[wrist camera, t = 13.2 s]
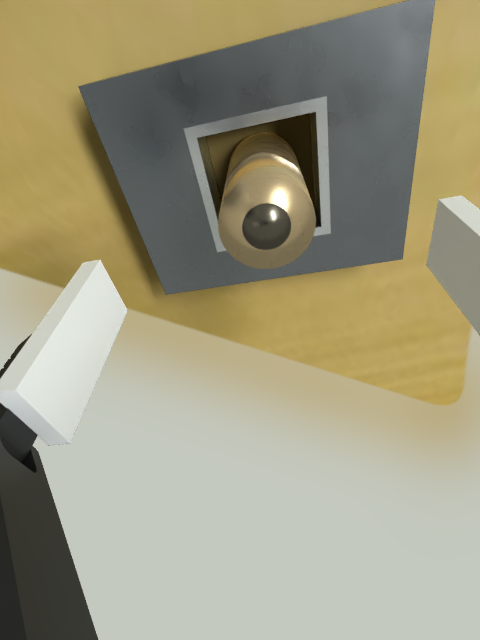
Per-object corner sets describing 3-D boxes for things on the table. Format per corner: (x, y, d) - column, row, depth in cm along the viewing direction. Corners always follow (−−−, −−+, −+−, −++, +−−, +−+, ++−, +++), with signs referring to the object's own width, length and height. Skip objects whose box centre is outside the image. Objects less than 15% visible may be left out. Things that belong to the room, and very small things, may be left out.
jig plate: (98, 80, 20) (77, 86, 18) (412, -2, 18) (437, -7, 15) (172, 274, 29) (165, 295, 27) (389, 239, 26) (402, 260, 24)
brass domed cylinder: (221, 140, 22) (206, 188, 15) (294, 125, 21) (313, 167, 15) (236, 210, 25) (229, 276, 18) (300, 198, 24) (318, 262, 18)
